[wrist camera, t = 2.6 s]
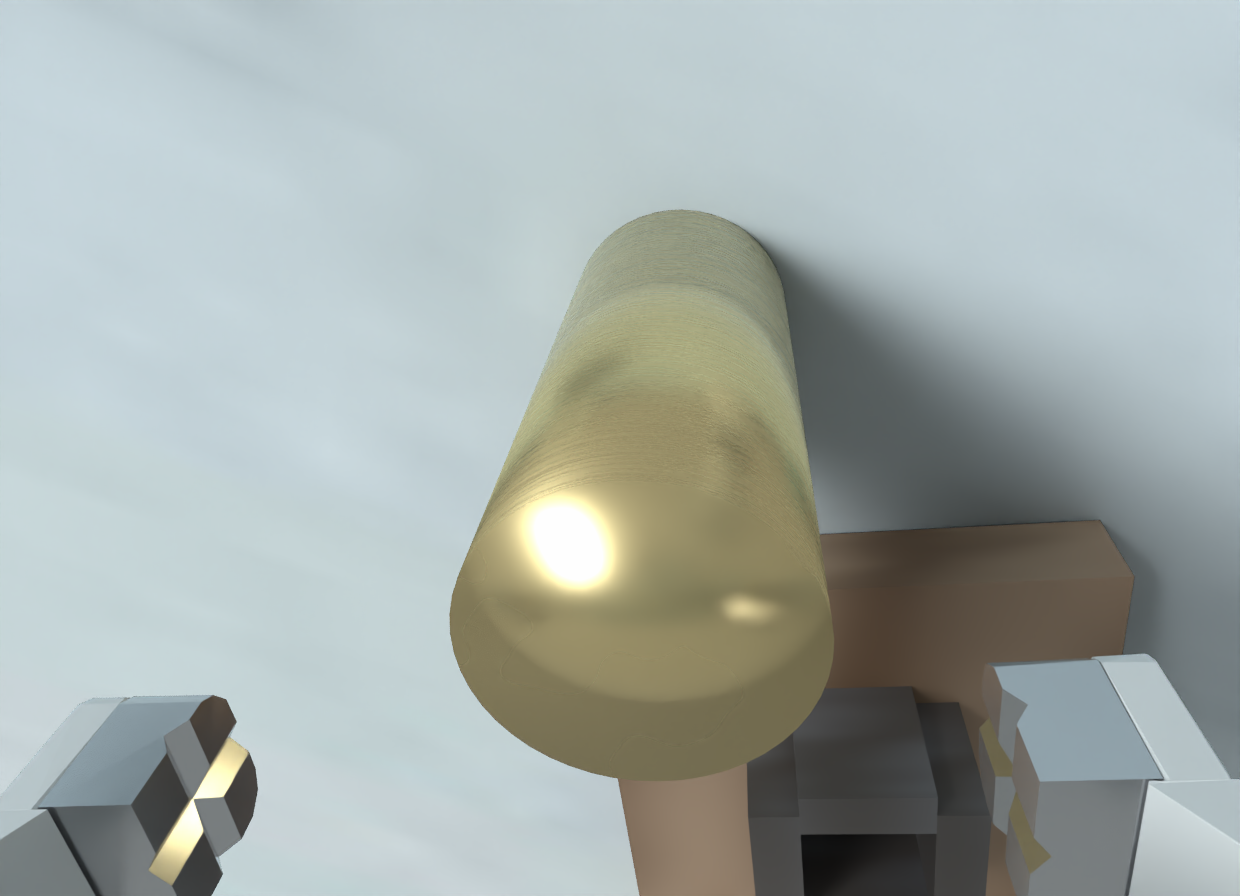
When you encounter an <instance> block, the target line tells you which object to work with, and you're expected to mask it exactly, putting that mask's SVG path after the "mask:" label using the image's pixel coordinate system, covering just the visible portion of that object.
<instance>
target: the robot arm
mask: <svg viewBox="0 0 1240 896" xmlns="http://www.w3.org/2000/svg"><path fill="white" fill-rule="evenodd" d="M981 694H982V697H983V700H984V703H985V706H986V709H987V711H988V714H989V718H988V719H987V720H986V722H985V723H984V724H983V725H982V726H981V727H980V728H979V762H980V772H981V782H982V786H983V791H984V795H985V800H986V804H987V807H988V810H989V813H990V817H991V820H992V823H993V824H994V825H995V826H996V827H997V828H998V829H1000V830H1001V831H1002V832H1003V833H1005V834H1006V835H1007V845H1006V859H1005V863H1006V866H1007V869H1008V872H1009V875H1010V878H1011V881H1012V884H1013V887H1014V890H1015V893H1016V896H1240V779H1232V778H1231V776H1230V775H1229V773H1228V772H1227V770H1226V769H1225V767H1224V766H1223V764H1222V762H1221V761H1220V759H1219V758H1218V756H1217V755H1216V753H1215V752H1214V750H1213V748H1212V747H1211V745H1210V744H1209V742H1208V741H1207V739H1206V737H1205V736H1204V734H1203V733H1202V731H1201V730H1200V728H1199V727H1198V725H1197V723H1196V722H1195V720H1194V719H1193V717H1192V716H1191V714H1190V713H1189V711H1188V709H1187V708H1186V706H1185V705H1184V703H1183V702H1182V700H1181V698H1180V697H1179V695H1178V694H1177V692H1176V691H1175V689H1174V688H1173V686H1172V684H1171V683H1170V681H1169V680H1168V678H1167V677H1166V675H1165V674H1164V672H1163V670H1162V669H1161V667H1160V666H1159V664H1158V663H1157V661H1156V660H1155V659H1154V658H1152V657H1151V656H1149V655H1148V654H1130V655H1114V656H1097V657H1092V658H1091V659H1089V658H1078V659H1058V660H1037V661H1016V662H996V663H986V665H985V669H984V672H983V678H982V692H981ZM235 725H236V719H235V717H234V715H233V713H232V711H231V709H230V707H229V705H228V702H227V700H226V699H223V698H220V697H217V696H214V695H191V696H134V697H132V698H126V697H124V698H92V699H90V700H88V701H85V702H83V703H81V704H79V705H77V707H76V708H75V709H74V710H73V711H72V712H71V714H70V715H69V716H68V717H67V718H66V720H65V721H64V722H63V723H62V724H61V725H60V727H59V728H58V729H57V730H56V731H55V732H54V734H53V735H52V736H51V737H50V738H49V740H48V741H47V742H46V743H45V744H44V745H43V747H42V748H41V749H40V750H39V751H38V752H37V754H36V755H35V756H34V757H33V758H32V760H31V761H30V762H29V763H28V764H27V765H26V767H25V768H24V769H23V770H22V771H21V772H20V774H19V775H18V776H17V777H16V778H15V780H14V781H13V782H12V783H11V784H10V785H9V787H8V788H7V789H6V790H5V791H4V792H3V794H2V795H1V796H0V896H211V895H212V894H213V892H214V890H215V888H216V886H217V884H218V882H219V880H220V879H221V877H222V875H223V872H222V868H221V864H220V859H219V856H220V855H222V854H223V853H224V852H225V851H227V850H228V849H229V848H231V847H232V846H233V845H234V844H236V843H237V842H238V841H239V840H241V839H242V837H243V835H244V833H245V831H246V829H247V827H248V825H249V823H250V821H251V819H252V817H253V812H254V807H255V802H256V796H257V791H258V787H257V778H256V769H255V766H254V764H253V761H252V759H251V756H250V753H249V752H248V751H247V750H246V749H244V748H243V747H242V746H241V745H239V744H238V743H237V742H235V741H234V740H233V739H232V738H230V736H231V733H232V731H233V729H234V727H235Z"/></svg>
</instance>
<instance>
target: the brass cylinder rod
mask: <svg viewBox="0 0 1240 896" xmlns="http://www.w3.org/2000/svg"><path fill="white" fill-rule="evenodd" d="M450 635H451V640H452V645H453V650H454V654H455V657H456V660H457V662H458V665H459V668H460V671H461V673H462V674H463V676H464V678H465V680H466V682H467V684H468V686H469V688H470V689H471V691H472V692H473V693H474V695H475V696H476V698H477V699H478V700H479V702H480V703H481V705H482V706H483V707H484V708H485V709H486V710H487V711H488V712H489V713H490V714H491V716H492V717H493V718H494V719H495V720H496V721H497V722H498V723H500V724H501V725H502V726H503V727H504V728H505V729H507V730H508V731H509V732H510V733H511V734H512V735H514V736H515V737H517V738H518V739H520V740H521V741H523V742H524V743H526V744H527V745H528V746H530V747H532V748H534V749H535V750H537V751H539V752H541V753H543V754H545V755H546V756H548V757H550V758H552V759H555V760H557V761H560V762H562V763H564V764H567V765H569V766H572V767H575V768H578V769H581V770H584V771H587V772H591V773H595V774H599V775H604V776H608V777H613V778H620V779H628V780H636V781H674V780H685V779H692V778H698V777H704V776H708V775H712V774H716V773H720V772H723V771H727V770H729V769H732V768H735V767H737V766H740V765H743V764H745V763H747V762H749V761H751V760H753V759H755V758H757V757H759V756H761V755H763V754H765V753H766V752H768V751H769V750H771V749H772V748H774V747H775V746H777V745H778V744H780V743H781V742H783V741H784V740H785V739H786V738H787V737H788V736H789V735H791V734H792V733H793V732H794V731H795V730H796V729H797V728H798V727H799V726H800V725H801V724H802V723H803V721H804V720H805V719H806V718H807V717H808V716H809V714H810V713H811V712H812V710H813V708H814V707H815V705H816V704H817V702H818V700H819V699H820V697H821V695H822V693H823V690H824V688H825V686H826V683H827V681H828V678H829V674H830V670H831V666H832V662H833V652H834V633H833V624H832V616H831V610H830V603H829V596H828V589H827V582H826V575H825V569H824V562H823V555H822V548H821V541H820V534H819V528H818V521H817V514H816V507H815V500H814V494H813V487H812V480H811V473H810V466H809V459H808V453H807V446H806V439H805V432H804V425H803V419H802V412H801V405H800V398H799V391H798V384H797V378H796V371H795V364H794V357H793V350H792V344H791V337H790V330H789V323H788V316H787V309H786V303H785V296H784V290H783V286H782V283H781V279H780V276H779V274H778V272H777V269H776V267H775V265H774V264H773V262H772V260H771V259H770V257H769V255H768V254H767V253H766V251H765V250H764V249H763V248H762V246H761V245H760V244H759V243H758V242H757V241H756V240H755V239H754V238H753V237H752V236H751V235H749V234H748V233H747V232H745V231H744V230H743V229H741V228H740V227H738V226H737V225H735V224H733V223H731V222H729V221H727V220H725V219H723V218H720V217H717V216H715V215H712V214H708V213H703V212H699V211H690V210H668V211H662V212H656V213H652V214H649V215H646V216H642V217H640V218H637V219H635V220H633V221H631V222H629V223H627V224H625V225H624V226H622V227H621V228H619V229H617V230H616V231H615V232H614V233H612V234H611V235H610V236H609V237H608V238H606V239H605V240H604V241H603V243H602V244H601V245H600V246H599V247H598V248H597V249H596V251H595V252H594V254H593V255H592V257H591V258H590V259H589V261H588V263H587V265H586V267H585V269H584V271H583V273H582V276H581V278H580V281H579V283H578V286H577V288H576V290H575V293H574V295H573V298H572V300H571V303H570V305H569V308H568V310H567V312H566V315H565V317H564V320H563V322H562V325H561V327H560V329H559V332H558V334H557V337H556V339H555V342H554V344H553V346H552V349H551V351H550V354H549V356H548V359H547V361H546V364H545V366H544V368H543V371H542V373H541V376H540V378H539V381H538V383H537V385H536V388H535V390H534V393H533V395H532V398H531V400H530V402H529V405H528V407H527V410H526V412H525V415H524V417H523V420H522V422H521V424H520V427H519V429H518V432H517V434H516V437H515V439H514V441H513V444H512V446H511V449H510V451H509V454H508V456H507V458H506V461H505V463H504V466H503V468H502V471H501V473H500V476H499V478H498V480H497V483H496V485H495V488H494V490H493V493H492V495H491V497H490V500H489V502H488V505H487V507H486V510H485V512H484V514H483V517H482V519H481V522H480V524H479V527H478V529H477V532H476V534H475V536H474V539H473V541H472V544H471V546H470V549H469V551H468V553H467V556H466V558H465V561H464V563H463V566H462V568H461V570H460V573H459V575H458V578H457V581H456V585H455V588H454V591H453V594H452V601H451V608H450Z"/></svg>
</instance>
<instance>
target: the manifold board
mask: <svg viewBox="0 0 1240 896" xmlns="http://www.w3.org/2000/svg"><path fill="white" fill-rule="evenodd" d="M820 541H821V548H822V555H823V562H824V569H825V575H826V582H827V589H828V596H829V603H830V610H831V616H832V624H833V633H834V652H833V662H832V666H831V670H830V674H829V678H828V681H827V683H826V686H825V688H824V690H823V693H822V695H821V697H820V699H819V700H818V702H817V704H816V705H815V707H814V708H813V710H812V712H811V713H810V714H809V716H808V717H807V718H806V719H805V720H804V721H803V723H802V724H801V725H800V726H799V727H798V728H797V729H796V730H795V731H794V732H793V733H792V734H791V735H789V736H788V737H787V738H786V739H785V740H784V741H783V742H781V743H780V744H778V745H777V746H775V747H774V748H772V749H771V750H769V751H768V752H766V753H765V754H763V755H761V756H759V757H757V758H755V759H753V760H751V761H749V762H747V763H745V764H743V765H740V766H737V767H735V768H732V769H729V770H727V771H723V772H720V773H716V774H712V775H708V776H704V777H698V778H692V779H685V780H674V781H636V780H628V779H620V778H618V782H619V787H620V793H621V798H622V804H623V809H624V814H625V820H626V825H627V830H628V836H629V841H630V847H631V852H632V857H633V863H634V868H635V873H636V879H637V884H638V890H639V895H640V896H1016V893H1015V890H1014V887H1013V884H1012V881H1011V878H1010V875H1009V872H1008V869H1007V866H1006V863H1005V859H1006V845H1007V835H1006V834H1005V833H1003V832H1002V831H1001V830H1000V829H998V828H997V827H996V826H995V825H994V824H993V823H992V820H991V817H990V813H989V810H988V807H987V804H986V800H985V795H984V791H983V786H982V782H981V772H980V762H979V728H980V727H981V726H982V725H983V724H984V723H985V722H986V720H987V719H988V718H989V714H988V711H987V709H986V706H985V703H984V700H983V697H982V694H981V692H982V678H983V672H984V669H985V665H986V663H996V662H1016V661H1037V660H1058V659H1078V658H1089V659H1091V658H1092V657H1097V656H1114V655H1122V653H1123V647H1124V640H1125V634H1126V627H1127V621H1128V615H1129V608H1130V602H1131V595H1132V589H1133V582H1134V575H1133V573H1132V572H1131V570H1130V568H1129V567H1128V565H1127V563H1126V562H1125V560H1124V559H1123V557H1122V555H1121V554H1120V552H1119V550H1118V549H1117V547H1116V546H1115V544H1114V542H1113V541H1112V539H1111V537H1110V536H1109V534H1108V533H1107V531H1106V529H1105V528H1104V526H1103V524H1102V523H1101V521H1100V520H1093V521H1074V522H1055V523H1035V524H1016V525H997V526H977V527H958V528H938V529H919V530H900V531H880V532H861V533H842V534H822V535H820Z"/></svg>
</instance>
